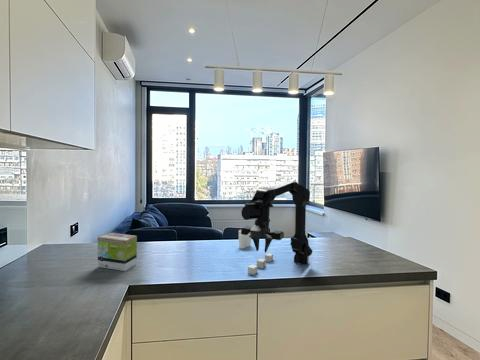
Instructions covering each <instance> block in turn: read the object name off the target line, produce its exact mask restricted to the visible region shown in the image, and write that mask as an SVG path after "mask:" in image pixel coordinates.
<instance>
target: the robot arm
mask: <svg viewBox="0 0 480 360" xmlns="http://www.w3.org/2000/svg"><path fill="white" fill-rule="evenodd" d="M310 191H311V190H309V189H308V188H306V187H304V186H303V185H301V184H299V183H298V182H297V181H296V180H287V181H285V182H283V183H281V184H278V185H275V186H271V187H266V188H265V187H262V188H258V189H257V190H256V191H255V194H254V195H253V197H252V199H251V200H250V202H249V203H244V206H243V207H242V210H241V216H242V219H243V220H245V221H246V220H247V221H248V220H254V219H255V221H254V223H253V225H252V226H249V225H247V226H244V227H242V228H241V229H240V230H241V234H243V235H248V234H249V233H250V236H249V237H251V240H252V241H253V244H254V246H255V247H254V248H255V251H256V252H258V251H259V249H260V238H262V237H263V236H265V237H266V238H264V240H265V241H264V253H265V254H267V251H268V249H269V248H270V246H271V243H272V242H273V240H275V241H281V240H282V239H284V237H285V233H284V231H282V230H273V231H270V230H271V228H270V222H271V219H270V208H273V207H274V204H273V203H272V202H273V201H274V200H275V199H276V197H279V196H282V195H283V194H287V193H289V194H291V196H292V202H293V203H294V206H295V213H294V215H295V217H294V218H295V222H294V225H295V227H294V235H293V236H292V237H290V246H291V250H292V253H294V255H293V263H295V264H298V265H303V266H304V265H308V264H309V262H310V261H309V258H310V256H312V254H313V249H312V248H311V247H310V245H309V239H308V237H307V235H306V221H307V220H306V217H307V216H306V215H307V214H306V213H307V212H306V211H307V210H306V208H307V205H308V203H309V202H310V195H311V192H310Z"/></svg>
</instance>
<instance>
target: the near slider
mask: <svg viewBox="0 0 480 360" xmlns="http://www.w3.org/2000/svg"><path fill="white" fill-rule="evenodd" d="M258 268H259V267H258V266H257V264H250V265H249V266H247V274H249V275H253V276H254V275H256V274H257V273H258V270H259V269H258Z"/></svg>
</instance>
